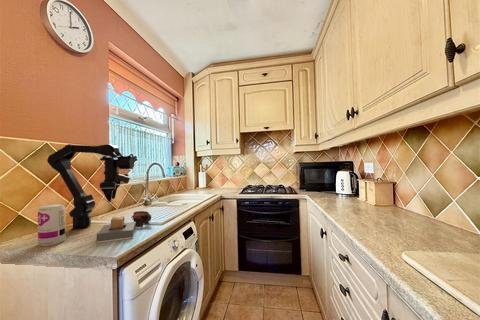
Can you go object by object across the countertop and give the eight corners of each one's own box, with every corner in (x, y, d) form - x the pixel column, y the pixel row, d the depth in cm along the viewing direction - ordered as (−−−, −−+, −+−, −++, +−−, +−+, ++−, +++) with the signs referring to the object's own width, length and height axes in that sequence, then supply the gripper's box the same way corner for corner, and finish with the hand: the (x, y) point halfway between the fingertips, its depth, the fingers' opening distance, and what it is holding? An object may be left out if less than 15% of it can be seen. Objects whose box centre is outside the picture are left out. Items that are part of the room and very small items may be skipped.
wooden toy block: (110, 236, 89) (110, 220, 89) (113, 233, 94) (112, 217, 94) (122, 235, 91) (122, 219, 91) (124, 231, 95) (124, 216, 95)
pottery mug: (124, 228, 103) (127, 212, 107) (139, 232, 110) (141, 216, 115) (143, 224, 99) (146, 207, 103) (157, 227, 107) (159, 212, 111)
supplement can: (46, 248, 80) (45, 208, 80) (33, 245, 82) (33, 207, 82) (70, 240, 87) (69, 204, 87) (57, 238, 90) (57, 203, 90)
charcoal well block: (96, 242, 84) (96, 234, 84) (104, 232, 96) (104, 225, 96) (132, 238, 88) (132, 229, 88) (135, 228, 101) (135, 221, 101)
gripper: (126, 169, 100) (126, 202, 100) (131, 168, 118) (131, 196, 118) (99, 170, 96) (99, 204, 96) (108, 169, 114) (108, 197, 114)
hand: (111, 200), depth 106 cm, fingers open, 9 cm apart
